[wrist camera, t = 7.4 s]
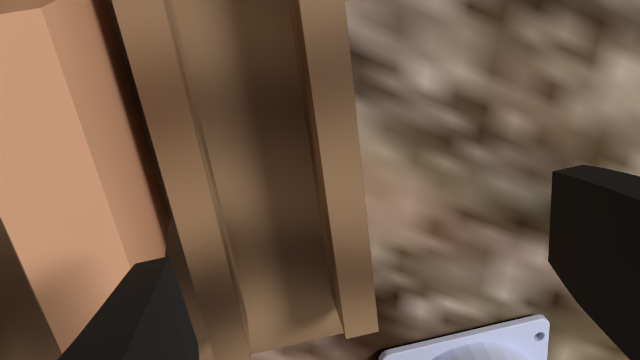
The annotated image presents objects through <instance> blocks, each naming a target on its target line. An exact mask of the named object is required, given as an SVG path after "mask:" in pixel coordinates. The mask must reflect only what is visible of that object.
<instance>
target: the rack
mask: <svg viewBox="0 0 640 360" xmlns="http://www.w3.org/2000/svg"><path fill="white" fill-rule="evenodd" d="M106 3H107V7H108V10H109V14H110V17H111V20H112V24H113V27H114V31H115V34H116V38H117V41H118V44H119V48H120V51H121V55H122V58H123V62H124V65H125V69H126V72H127V75H128V79H129V82H130V86H131V89H132V93H133V96H134V99H135V103H136V106H137V110H138V113H139V117H140V120H141V123H142V127H143V130H144V134H145V137H146V141H147V144H148V148H149V151H150V154H151V158H152V161H153V165H154V168H155V172H156V175H157V178H158V182H159V185H160V189H161V192H162V196H163V199H164V203H165V206H166V209H167V213H168V216H169V220H170V221H169V229H168V236H167V244H166V251H165V257H167V256H170V258H171V261H172V264H173V267H174V270H175V273H176V276H177V280H178V283H179V286H180V289H181V292H182V295H183V298H184V301H185V304H186V307H187V311H188V314H189V317H190V320H191V323H192V326H193V329H194V332H195V335H196V338H197V342H198V347H199V360H251V354H254V353H259V352H263V351H267V350H272V349H276V348H281V347H285V346H289V345H294V344H298V343H302V342H307V341H311V340H316V339H320V338H324V337H329V336H333V335H337V334H342V333H344V334H345V337H346V339H348V338H352V337H357V336H361V335H365V334H370V333H374V332H378V331H379V330H378V321H377V311H376V301H375V291H374V282H373V272H372V262H371V252H370V243H369V233H368V223H367V213H366V204H365V194H364V184H363V174H362V165H361V155H360V145H359V135H358V125H357V116H356V106H355V96H354V86H353V77H352V67H351V57H350V47H349V38H348V28H347V18H346V8H345V0H106ZM61 355H62V352H61V350H60V348H59V346H58V344H57V341H56V339H55V337H54V335H53V332H52V330H51V328H50V326H49V324H48V321H47V319H46V317H45V315H44V313H43V310H42V308H41V306H40V304H39V301H38V299H37V297H36V295H35V293H34V290H33V288H32V286H31V284H30V281H29V279H28V277H27V275H26V273H25V270H24V268H23V266H22V264H21V262H20V259H19V257H18V255H17V253H16V250H15V248H14V246H13V244H12V242H11V239H10V237H9V235H8V233H7V231H6V228H5V226H4V224H3V222H2V219H1V217H0V360H57V359H58V358H59V357H60V356H61Z"/></svg>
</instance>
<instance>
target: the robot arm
mask: <svg viewBox="0 0 640 360" xmlns="http://www.w3.org/2000/svg"><path fill="white" fill-rule="evenodd" d="M548 262H549V263H550V265H551V266H552V268H553V269H554V270H555V272H556V273H557V275H558V276H559V278H560V279H561V281H562V282H563V284H564V285H565V287H566V288H567V289H568V291H569V292H570V293H571V295H572V296H573V298H574V299H575V300H576V302H577V303H578V304H579V305H580V306H581V307H582V309H583V310H584V311H585V312H586V313H587V314H588V315H589V316H590V317H591V318H592V320H593V321H594V322H595V323H596V324H597V325H598V326H599V327H600V328H601V329H602V330H603V331H604V333H605V334H606V335H607V336H608V337H609V338H610V339H611V340H612V341H613V342H614V343H615V344H616V345H617V346H618V347H619V348H620V350H621V351H622V352H623V353H624V354H625V355H626V356H627V357H628V358H629V359H630V360H640V177H639V176H635V175H631V174H627V173H623V172H619V171H614V170H610V169H605V168H600V167H594V166H588V165H580V166H575V167H571V168H566V169H562V170H557V171H553V175H552V195H551V215H550V236H549V256H548ZM549 326H550V325H549V321H548V320H547V319H546V318H545V317H544V316H543V315H534V316H529V317H525V318H521V319H517V320H512V321H508V322H504V323H499V324H495V325H491V326H487V327H482V328H478V329H474V330H470V331H465V332H461V333H457V334H452V335H448V336H444V337H440V338H435V339H431V340H427V341H423V342H418V343H414V344H410V345H405V346H401V347H397V348H393V349H388V350H386V351H384V352H383V353H381V355H380V356H379V360H547V352H548V339H549ZM537 333H538V334H537ZM57 360H199V347H198V342H197V338H196V335H195V332H194V329H193V326H192V323H191V320H190V317H189V314H188V311H187V307H186V304H185V301H184V298H183V295H182V292H181V289H180V286H179V283H178V280H177V276H176V273H175V270H174V267H173V264H172V261H171V258H170V256H167V257H163V258H158V259H153V260H149V261H144V262H140V263H135V264H134V265H133V267H132V268H131V269H130V270H129V271H128V273H127V274H126V275H125V276H124V278H123V279H122V280H121V281H120V283H119V284H118V285H117V287H116V288H115V289H114V291H113V292H112V293H111V294H110V296H109V297H108V298H107V300H106V301H105V302H104V304H103V305H102V306H101V307H100V309H99V310H98V311H97V312H96V314H95V315H94V316H93V317H92V319H91V320H90V321H89V322H88V324H87V325H86V326H85V327H84V329H83V330H82V331H81V332H80V334H79V335H78V336H77V337H76V339H75V340H74V341H73V342H72V343H71V345H70V346H69V347H68V348H67V349H66V350H65V351H64V352H63V354H62V355H61V356H60V357H59V358H58V359H57Z"/></svg>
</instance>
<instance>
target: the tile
mask: <svg viewBox="0 0 640 360" xmlns="http://www.w3.org/2000/svg"><path fill="white" fill-rule="evenodd" d="M0 217H1V219H2V222H3V224H4V226H5V228H6V231H7V233H8V235H9V237H10V239H11V242H12V244H13V246H14V248H15V250H16V253H17V255H18V257H19V259H20V262H21V264H22V266H23V268H24V270H25V273H26V275H27V277H28V279H29V281H30V284H31V286H32V288H33V290H34V293H35V295H36V297H37V299H38V301H39V304H40V306H41V308H42V310H43V313H44V315H45V317H46V319H47V321H48V324H49V326H50V328H51V330H52V332H53V335H54V337H55V339H56V341H57V344H58V346H59V348H60V350H61V352H62V354H63V352H64V351H65V350H66V349H67V348H68V347H69V346H70V345H71V343H72V342H73V341H74V340H75V339H76V337H77V336H78V335H79V334H80V332H81V331H82V330H83V329H84V327H85V326H86V325H87V324H88V322H89V321H90V320H91V319H92V317H93V316H94V315H95V314H96V312H97V311H98V310H99V309H100V307H101V306H102V305H103V304H104V302H105V301H106V300H107V298H108V297H109V296H110V294H111V293H112V292H113V291H114V289H115V288H116V287H117V285H118V284H119V283H120V281H121V280H122V279H123V278H124V276H125V275H126V274H127V273H128V271H129V270H130V269H131V268H132V267H133V265H134V264H135V263H140V262H144V261H149V260H153V259H158V258H163V257H165V251H166V244H167V236H168V229H169V221H170V220H169V216H168V213H167V209H166V206H165V203H164V199H163V196H162V192H161V189H160V185H159V182H158V178H157V175H156V172H155V168H154V165H153V161H152V158H151V154H150V151H149V148H148V144H147V141H146V137H145V134H144V130H143V127H142V123H141V120H140V117H139V113H138V110H137V106H136V103H135V99H134V96H133V93H132V89H131V86H130V82H129V79H128V75H127V72H126V69H125V65H124V62H123V58H122V55H121V51H120V48H119V44H118V41H117V38H116V34H115V31H114V27H113V24H112V20H111V17H110V14H109V10H108V7H107V3H106V0H0Z"/></svg>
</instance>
